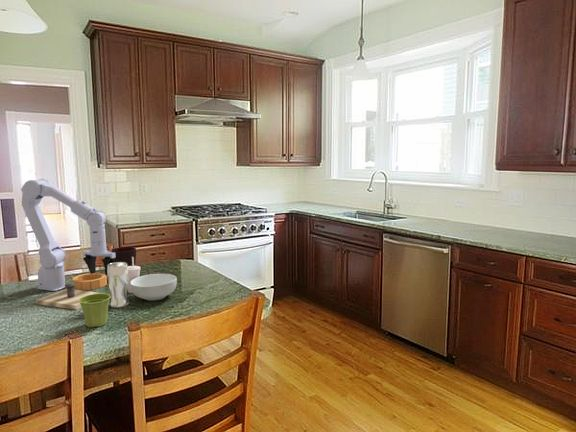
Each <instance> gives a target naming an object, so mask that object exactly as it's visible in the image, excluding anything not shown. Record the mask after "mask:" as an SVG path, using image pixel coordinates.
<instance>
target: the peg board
mask: <svg viewBox="0 0 576 432" xmlns="http://www.w3.org/2000/svg"><path fill="white" fill-rule="evenodd" d="M75 285H76V283H73V282H68V283H65V288H63V289H61V290H60V291H59V290H58V291H55V292H54V293H51V294H49V295H46V296H43V297H41V298H38V299H36V300H35V303H36V305H40V306H41V305H42V306H48V307H56V308H62V309H67V310H68V309H69V310H79V309H80V308H81V309H82V307H81V304H80V303H79V301H78V300H79V299H80V298H81V297H84V296H87V295H91V294H100V293H101V292H98V291H91V290H76V289H74V286H75ZM102 293H103V294H105V293H104V292H102Z"/></svg>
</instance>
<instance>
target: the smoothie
mask: <svg viewBox="0 0 576 432" xmlns="http://www.w3.org/2000/svg"><path fill="white" fill-rule="evenodd" d="M141 270H142V269H141V266H138V265H135V266H134V257H132V266H128V287H127V293H129V294H133V292H132V290H131V286H130V282H131V281H132V280H133V279H135V278H137V277H140V273H141Z"/></svg>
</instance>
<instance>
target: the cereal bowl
mask: <svg viewBox="0 0 576 432" xmlns="http://www.w3.org/2000/svg"><path fill="white" fill-rule="evenodd" d="M177 284H178V278H177V276H176V275H174V274H169V273H150V274H145V275H141V276H140V275H139V277H137V278H135V279H133V280H132V281H131V282H130V286H131V290H132V292H133V293H132V294H133V295H134V296H135V297H137V298H140V299H144V300H145V301H160V300H163V299H165V298H166V297H167V296H170V295H171V294H172V293H173V292H175V290H176V288H177Z"/></svg>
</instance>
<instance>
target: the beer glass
mask: <svg viewBox="0 0 576 432" xmlns="http://www.w3.org/2000/svg"><path fill="white" fill-rule="evenodd" d="M107 266H108V269H107V284H108V288H109V290H110V296H111V298H110V299H111V300H110V307H112V308H123V307H124V308H125V307H127V306H128V305H129V302H130V301H129V298H128V288H127V287H128V267H127V263H125V262H115V263H110V264H108V265H107Z"/></svg>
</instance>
